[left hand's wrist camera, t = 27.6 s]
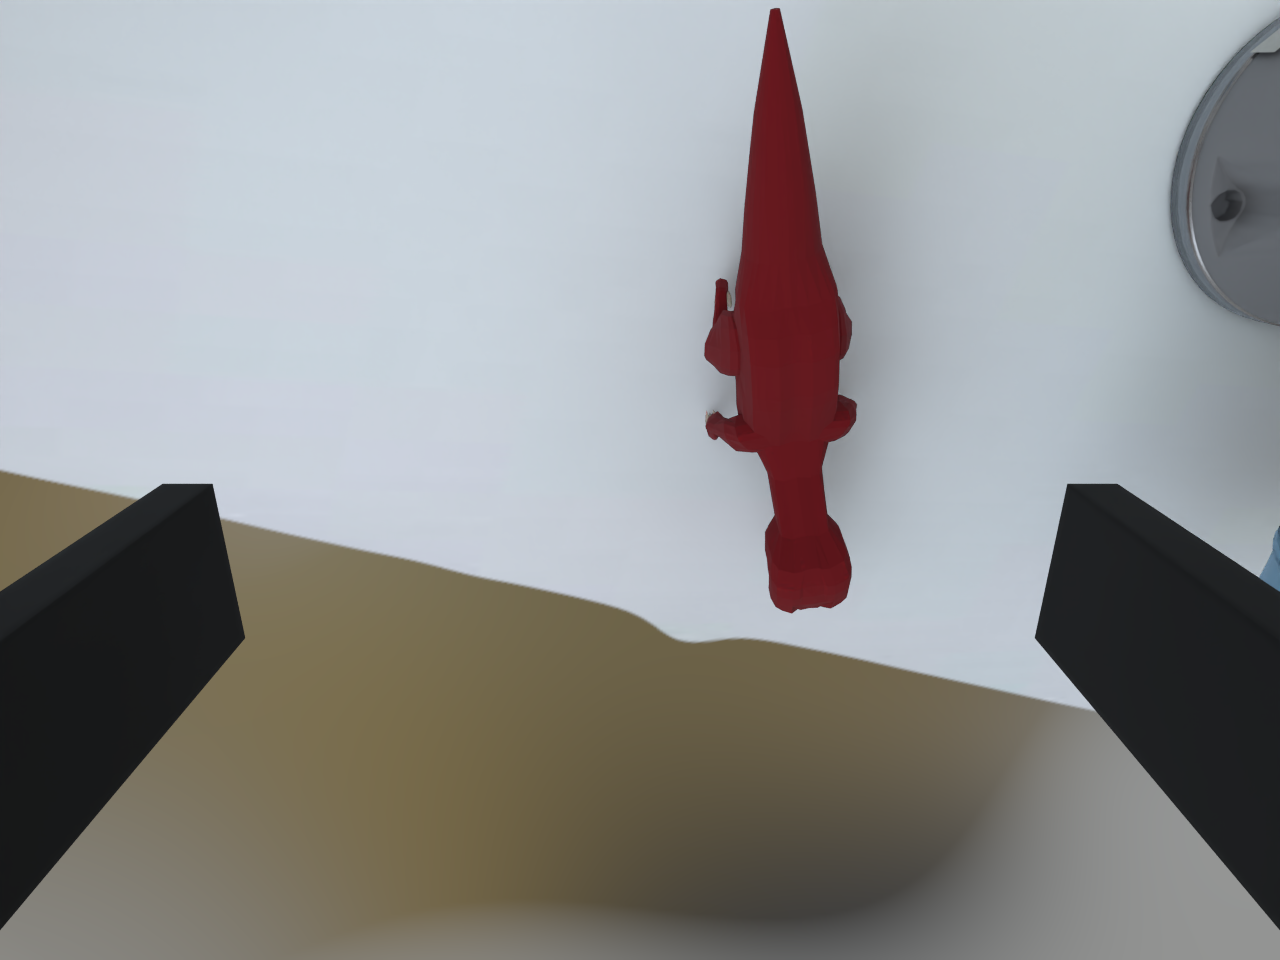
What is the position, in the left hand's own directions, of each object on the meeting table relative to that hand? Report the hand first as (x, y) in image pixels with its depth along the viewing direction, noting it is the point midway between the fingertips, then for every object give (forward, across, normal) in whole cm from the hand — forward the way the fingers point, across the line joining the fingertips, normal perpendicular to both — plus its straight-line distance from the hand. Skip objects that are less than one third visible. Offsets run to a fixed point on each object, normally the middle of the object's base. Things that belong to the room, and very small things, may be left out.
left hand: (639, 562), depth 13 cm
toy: (+30, -6, +2) cm, 31 cm away
